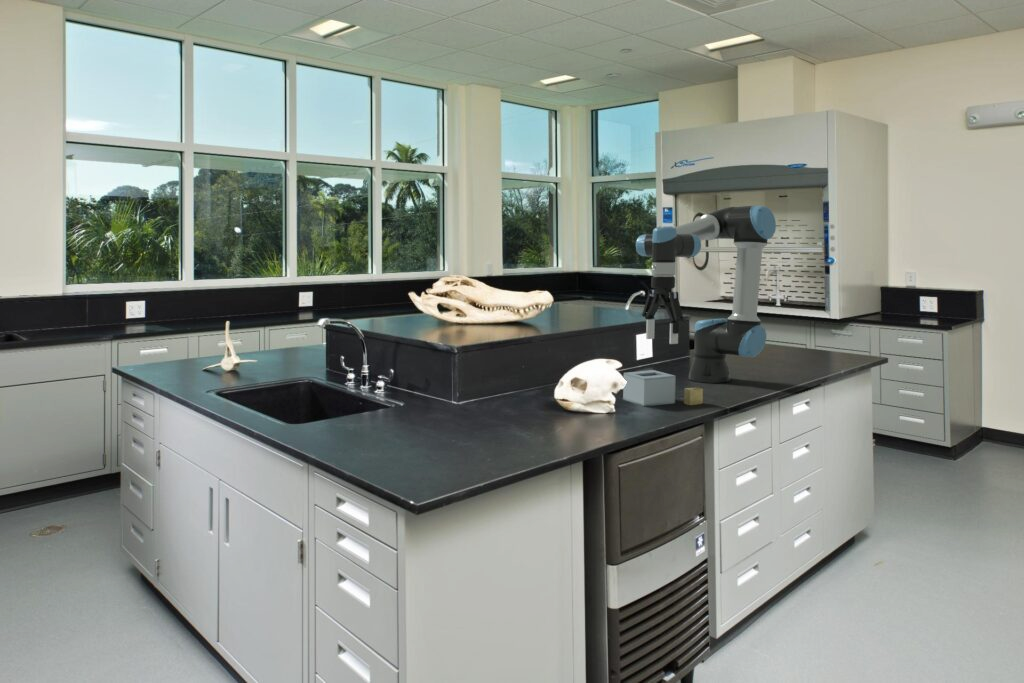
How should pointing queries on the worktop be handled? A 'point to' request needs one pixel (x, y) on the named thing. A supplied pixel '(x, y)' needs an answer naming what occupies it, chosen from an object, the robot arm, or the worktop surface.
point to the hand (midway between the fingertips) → (661, 341)
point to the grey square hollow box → (649, 388)
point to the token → (693, 396)
